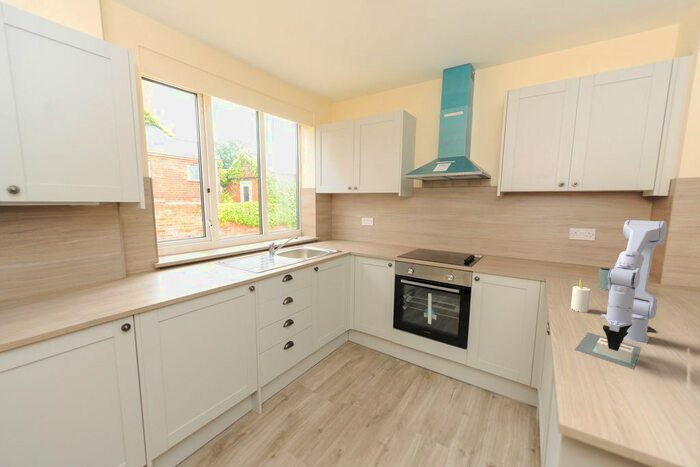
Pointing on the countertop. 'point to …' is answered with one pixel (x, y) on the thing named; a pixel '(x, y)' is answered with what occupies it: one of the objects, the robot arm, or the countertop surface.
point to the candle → (580, 298)
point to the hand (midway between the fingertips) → (615, 345)
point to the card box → (622, 354)
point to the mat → (589, 347)
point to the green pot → (604, 277)
